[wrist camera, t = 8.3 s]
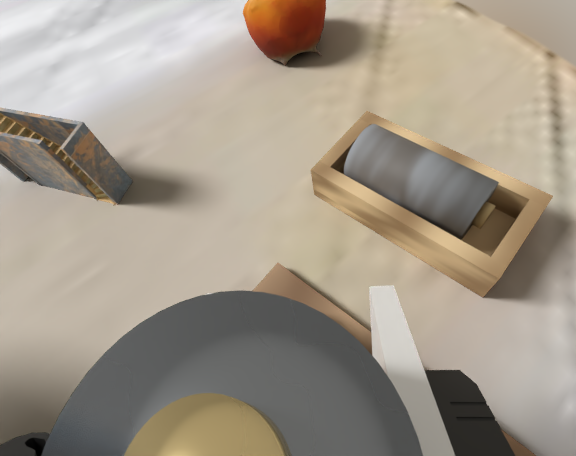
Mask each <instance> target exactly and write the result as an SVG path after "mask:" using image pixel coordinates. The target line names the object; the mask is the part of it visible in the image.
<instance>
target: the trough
mask: <svg viewBox="0 0 576 456" xmlns="http://www.w3.org/2000/svg"><path fill="white" fill-rule="evenodd" d="M311 175H312V181H313V188H314V194H315V195H316V196H318V197H319V198H321V199H323V200H324V201H326V202H327V203H329V204H331V205H332V206H334V207H336V208H337V209H339V210H341V211H342V212H344V213H345V214H347V215H349V216H350V217H352V218H354V219H355V220H357V221H359V222H360V223H362V224H363V225H365V226H367V227H368V228H370V229H372V230H373V231H375V232H377V233H378V234H380V235H381V236H383V237H385V238H386V239H388V240H390V241H391V242H393V243H395V244H396V245H398V246H399V247H401V248H403V249H404V250H406V251H408V252H409V253H411V254H413V255H414V256H416V257H417V258H419V259H421V260H422V261H424V262H426V263H427V264H429V265H431V266H432V267H434V268H435V269H437V270H439V271H440V272H442V273H444V274H445V275H447V276H449V277H450V278H452V279H453V280H455V281H457V282H458V283H460V284H462V285H463V286H465V287H467V288H468V289H470V290H471V291H473V292H475V293H476V294H478V295H480V296H481V297H484V296H485V295H486V293H487V292H488V291H489V290H490V289H491V288H492V287H493V286H494V285H495V284H496V282H497V281H498V280H499V279H500V278H501V276H502V274H503V273H504V271H505V270H506V268H507V267H508V265H509V264H510V262H511V261H512V259H513V258H514V256H515V254H516V253H517V251H518V250H519V248H520V247H521V245H522V244H523V242H524V241H525V239H526V237H527V236H528V234H529V233H530V231H531V230H532V228H533V227H534V225H535V224H536V222H537V220H538V219H539V217H540V216H541V214H542V213H543V211H544V210H545V208H546V207H547V205H548V203H549V202H550V200H551V199H552V197H553V196H552V195H550V194H547V193H545V192H543V191H541V190H539V189H536V188H534V187H532V186H530V185H528V184H526V183H523V182H521V181H519V180H517V179H515V178H512V177H510V176H508V175H506V174H504V173H501V172H499V171H497V170H495V169H493V168H491V167H488V166H486V165H484V164H482V163H480V162H477V161H475V160H473V159H471V158H469V157H467V156H464V155H462V154H460V153H458V152H456V151H453V150H451V149H449V148H447V147H445V146H443V145H440V144H438V143H436V142H434V141H432V140H429V139H427V138H425V137H423V136H421V135H418V134H416V133H414V132H412V131H410V130H408V129H405V128H403V127H401V126H399V125H397V124H394V123H392V122H390V121H388V120H386V119H384V118H381V117H379V116H377V115H375V114H373V113H370V112H368V111H366V112H365V113H364V114H363V115H362V117H361V118H360V119H359V120H358V121H357V122H356V123H355V124H354V125H353V126H352V127H351V128H350V129H349V130H348V131H347V132H346V133H345V134H344V135H343V137H342V138H341V139H340V140H339V141H338V142H337V143H336V144H335V145H334V146H333V147H332V148H331V149H330V150H329V151H328V152H327V153H326V154H325V155H324V156H323V158H322V159H321V160H320V161H319V162H318V163H317V164H316V165H315V166H314V167H313V168H312V169H311Z"/></svg>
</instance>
